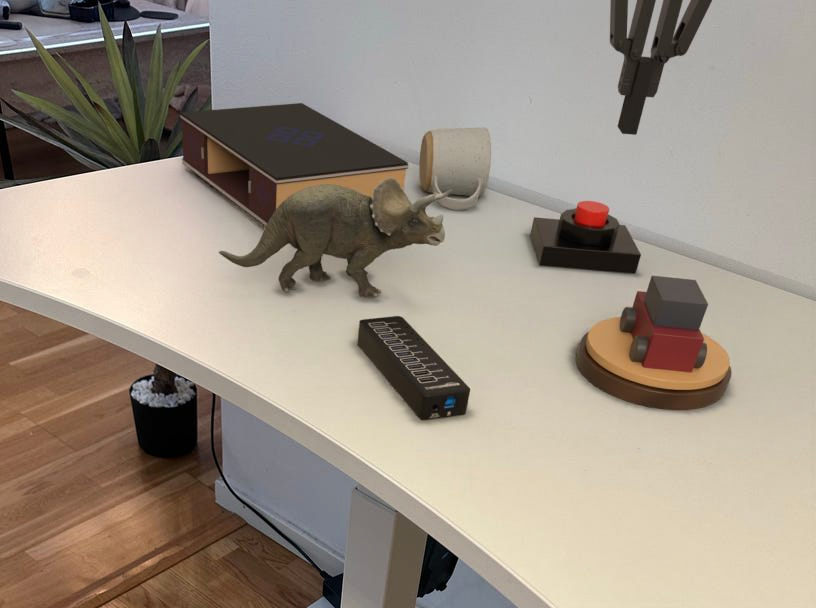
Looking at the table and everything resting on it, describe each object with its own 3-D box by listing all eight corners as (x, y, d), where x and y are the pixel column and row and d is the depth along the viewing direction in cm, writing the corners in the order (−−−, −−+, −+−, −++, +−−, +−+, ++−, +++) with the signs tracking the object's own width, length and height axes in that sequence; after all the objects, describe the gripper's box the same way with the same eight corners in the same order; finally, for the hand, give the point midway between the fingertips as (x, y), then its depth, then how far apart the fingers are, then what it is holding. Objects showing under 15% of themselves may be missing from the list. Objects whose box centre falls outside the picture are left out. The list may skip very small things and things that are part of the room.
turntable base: (703, 343, 91) (709, 329, 90) (744, 415, 81) (751, 400, 80) (565, 331, 90) (569, 317, 89) (589, 402, 80) (593, 387, 79)
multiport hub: (398, 337, 87) (401, 314, 85) (467, 414, 77) (472, 389, 76) (355, 342, 85) (357, 319, 84) (421, 421, 76) (425, 396, 74)
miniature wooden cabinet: (274, 241, 102) (276, 177, 97) (181, 170, 116) (179, 112, 112) (401, 222, 109) (408, 162, 104) (299, 157, 124) (301, 102, 119)
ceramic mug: (414, 181, 120) (422, 116, 115) (474, 183, 121) (485, 120, 115) (426, 211, 113) (435, 144, 107) (490, 214, 113) (503, 147, 108)
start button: (602, 218, 105) (606, 202, 103) (607, 229, 102) (612, 213, 101) (571, 215, 104) (575, 199, 103) (576, 226, 102) (580, 210, 101)
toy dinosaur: (217, 295, 91) (215, 174, 83) (225, 261, 97) (224, 146, 89) (436, 311, 92) (454, 194, 84) (430, 277, 98) (447, 165, 90)
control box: (620, 244, 109) (630, 209, 106) (635, 274, 103) (646, 238, 100) (529, 236, 109) (537, 200, 106) (539, 265, 102) (547, 229, 100)
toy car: (742, 397, 80) (771, 327, 75) (595, 381, 80) (616, 311, 75) (709, 331, 89) (734, 266, 85) (577, 317, 89) (595, 251, 85)
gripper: (761, -162, 83) (678, 125, 99) (619, -174, 83) (560, 116, 99) (788, -158, 78) (696, 145, 94) (637, -170, 77) (571, 136, 94)
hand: (626, 130), depth 96 cm, fingers closed
